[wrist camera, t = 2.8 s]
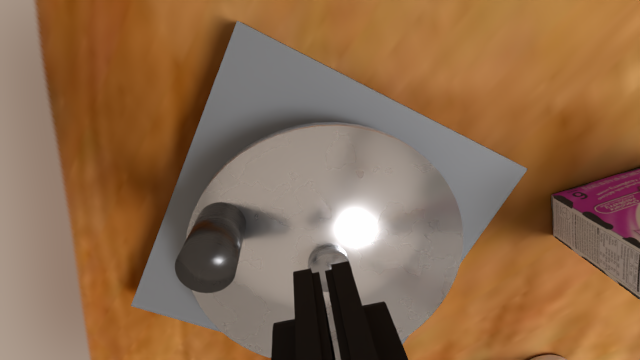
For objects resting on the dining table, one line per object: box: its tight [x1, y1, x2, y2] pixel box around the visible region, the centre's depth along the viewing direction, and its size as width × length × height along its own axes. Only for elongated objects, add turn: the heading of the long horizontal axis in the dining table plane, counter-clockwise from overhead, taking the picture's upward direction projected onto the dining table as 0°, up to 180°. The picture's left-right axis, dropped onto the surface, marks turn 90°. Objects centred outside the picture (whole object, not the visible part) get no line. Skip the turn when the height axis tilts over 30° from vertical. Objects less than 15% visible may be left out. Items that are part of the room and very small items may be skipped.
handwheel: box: [175, 122, 463, 360], centre depth 24 cm, size 20×20×7 cm
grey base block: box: [131, 21, 527, 344], centre depth 29 cm, size 24×24×4 cm
